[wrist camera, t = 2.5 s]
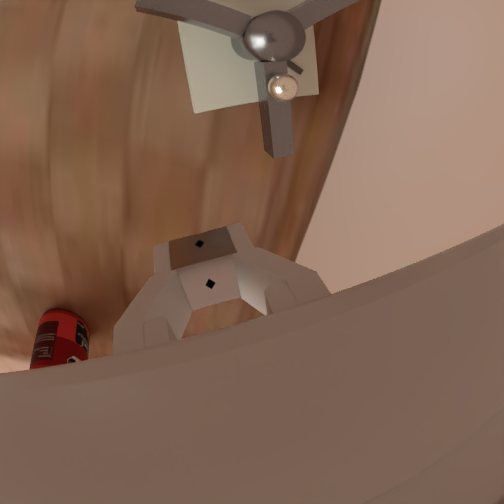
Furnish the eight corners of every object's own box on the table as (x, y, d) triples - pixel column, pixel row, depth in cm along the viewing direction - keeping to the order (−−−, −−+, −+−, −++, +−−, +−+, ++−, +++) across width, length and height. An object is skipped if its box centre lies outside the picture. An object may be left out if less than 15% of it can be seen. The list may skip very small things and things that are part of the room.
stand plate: (173, -6, 17) (173, -10, 16) (300, -15, 19) (308, -18, 18) (193, 111, 25) (195, 113, 24) (311, 92, 27) (319, 94, 25)
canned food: (87, 347, 39) (84, 410, 30) (39, 335, 35) (29, 398, 26) (93, 315, 36) (89, 386, 27) (40, 301, 32) (24, 370, 23)
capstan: (136, 0, 16) (128, -20, 10) (338, -13, 18) (383, -22, 13) (170, 163, 26) (174, 195, 20) (347, 129, 28) (388, 150, 23)
